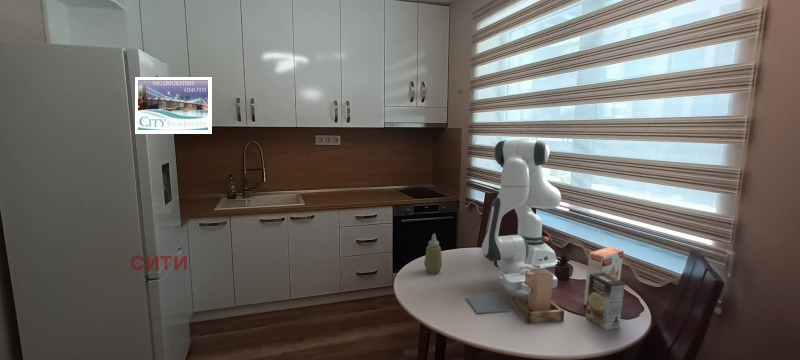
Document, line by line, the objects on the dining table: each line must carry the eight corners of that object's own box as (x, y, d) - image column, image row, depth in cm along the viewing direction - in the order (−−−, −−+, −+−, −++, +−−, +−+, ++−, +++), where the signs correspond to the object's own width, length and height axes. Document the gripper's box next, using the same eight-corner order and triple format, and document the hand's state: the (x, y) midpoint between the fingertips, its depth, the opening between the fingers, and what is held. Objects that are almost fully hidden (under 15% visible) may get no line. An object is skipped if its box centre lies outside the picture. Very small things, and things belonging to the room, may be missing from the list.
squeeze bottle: (440, 276, 162) (442, 237, 159) (422, 274, 163) (423, 235, 161) (442, 269, 170) (443, 232, 167) (425, 267, 171) (426, 230, 168)
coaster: (494, 296, 143) (495, 295, 143) (508, 311, 131) (509, 310, 131) (465, 298, 141) (465, 297, 141) (477, 314, 129) (477, 312, 129)
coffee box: (584, 316, 129) (588, 273, 127) (598, 314, 131) (603, 271, 128) (605, 330, 120) (610, 284, 118) (620, 327, 122) (626, 282, 120)
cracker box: (598, 311, 133) (604, 256, 130) (582, 304, 138) (587, 251, 135) (618, 302, 140) (624, 250, 137) (603, 296, 145) (608, 245, 142)
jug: (541, 305, 136) (544, 267, 133) (550, 312, 130) (553, 273, 128) (520, 306, 134) (522, 268, 132) (527, 314, 129) (530, 275, 126)
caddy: (540, 301, 140) (541, 292, 140) (563, 321, 126) (564, 311, 126) (508, 303, 138) (508, 294, 137) (527, 324, 124) (528, 313, 123)
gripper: (497, 268, 142) (514, 284, 129) (545, 265, 146) (566, 280, 132) (496, 283, 143) (513, 300, 130) (544, 280, 147) (565, 296, 133)
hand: (540, 290), depth 131 cm, fingers closed on jug, 6 cm apart
